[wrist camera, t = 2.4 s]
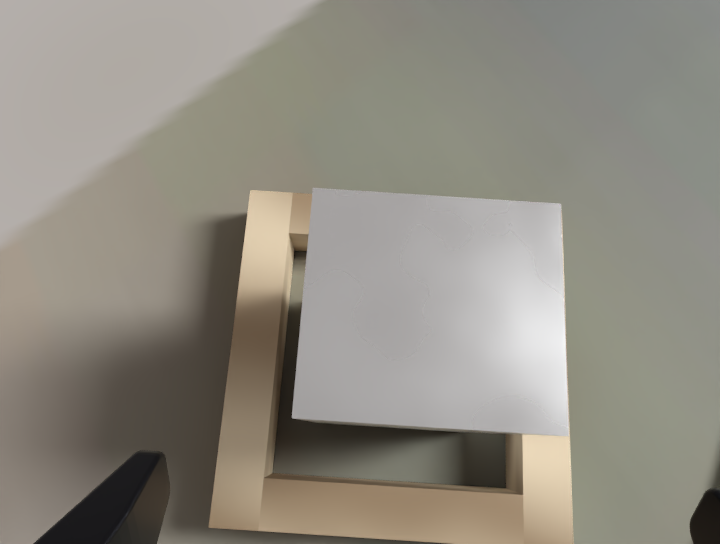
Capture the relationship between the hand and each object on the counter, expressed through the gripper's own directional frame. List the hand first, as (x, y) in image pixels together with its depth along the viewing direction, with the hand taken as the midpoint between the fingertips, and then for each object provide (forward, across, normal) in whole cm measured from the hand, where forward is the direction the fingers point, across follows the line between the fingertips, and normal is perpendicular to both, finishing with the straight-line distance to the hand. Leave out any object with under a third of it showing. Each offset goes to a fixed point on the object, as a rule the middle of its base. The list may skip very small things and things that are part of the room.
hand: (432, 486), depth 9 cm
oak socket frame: (+10, 0, +5) cm, 11 cm away
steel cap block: (+10, 0, +5) cm, 11 cm away
